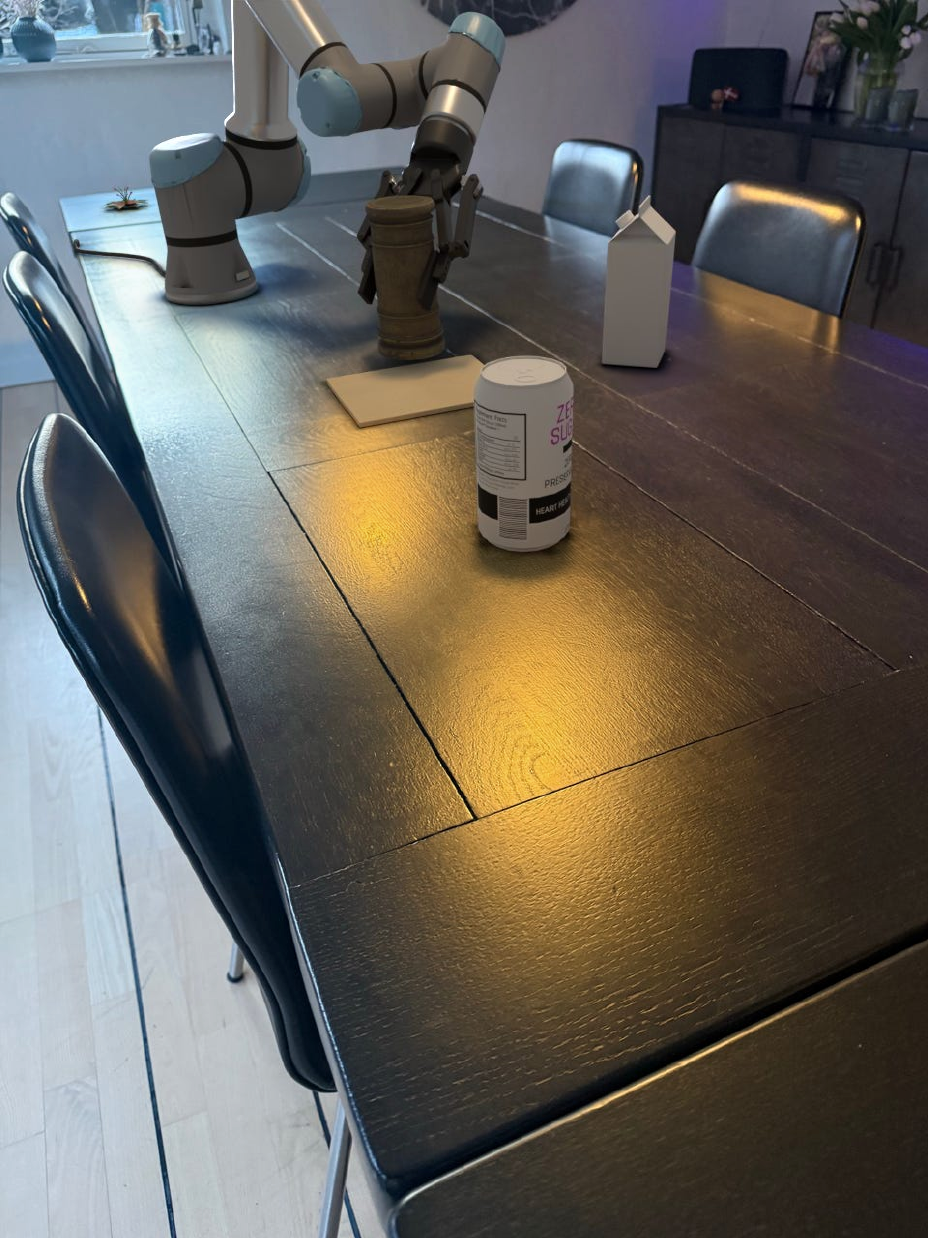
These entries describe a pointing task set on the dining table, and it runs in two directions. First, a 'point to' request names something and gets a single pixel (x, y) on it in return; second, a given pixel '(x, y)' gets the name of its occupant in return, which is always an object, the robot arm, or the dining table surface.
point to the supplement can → (523, 452)
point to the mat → (408, 390)
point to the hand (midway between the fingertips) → (393, 301)
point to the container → (403, 276)
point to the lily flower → (124, 201)
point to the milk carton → (638, 289)
